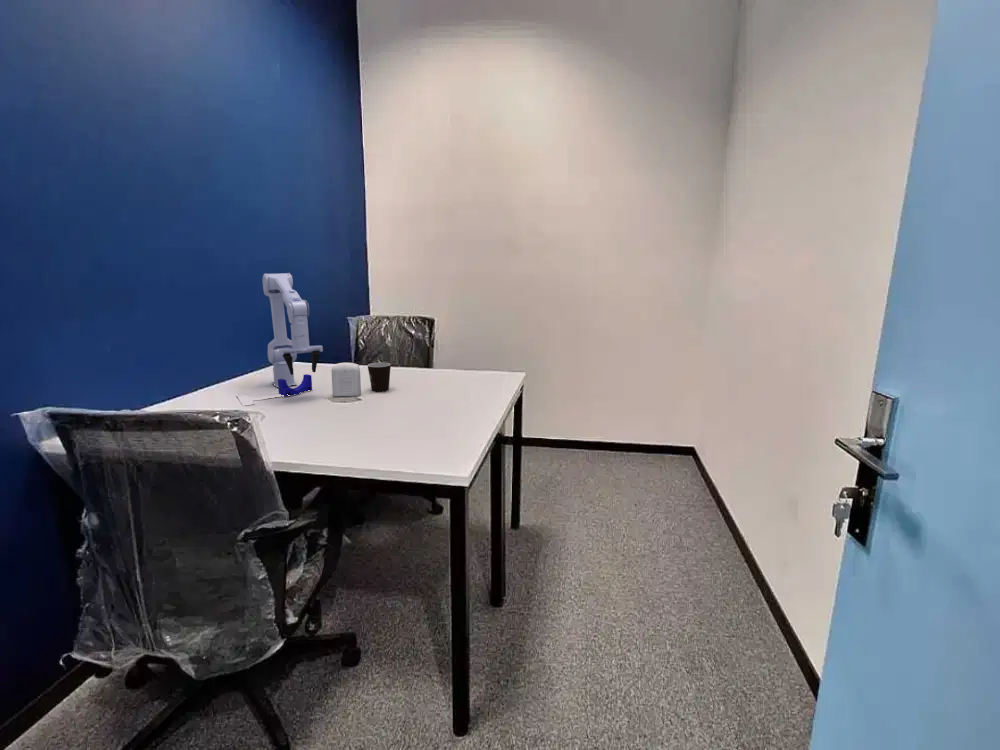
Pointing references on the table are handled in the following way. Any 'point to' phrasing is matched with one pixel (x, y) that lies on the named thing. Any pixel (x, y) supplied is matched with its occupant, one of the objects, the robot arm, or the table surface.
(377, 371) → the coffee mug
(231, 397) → the table surface
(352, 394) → the photo printer
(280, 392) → the cable clip
